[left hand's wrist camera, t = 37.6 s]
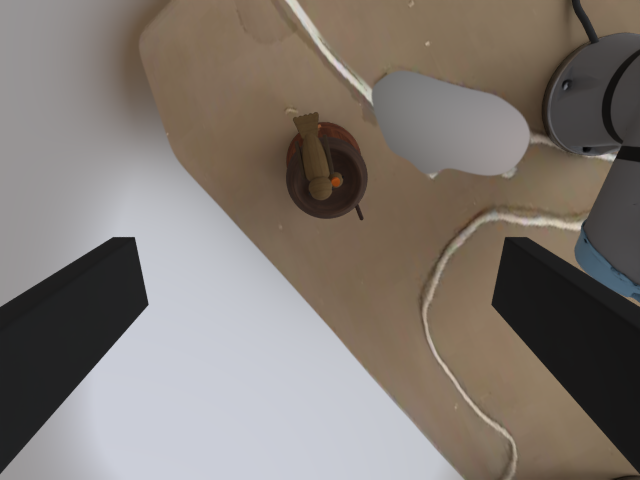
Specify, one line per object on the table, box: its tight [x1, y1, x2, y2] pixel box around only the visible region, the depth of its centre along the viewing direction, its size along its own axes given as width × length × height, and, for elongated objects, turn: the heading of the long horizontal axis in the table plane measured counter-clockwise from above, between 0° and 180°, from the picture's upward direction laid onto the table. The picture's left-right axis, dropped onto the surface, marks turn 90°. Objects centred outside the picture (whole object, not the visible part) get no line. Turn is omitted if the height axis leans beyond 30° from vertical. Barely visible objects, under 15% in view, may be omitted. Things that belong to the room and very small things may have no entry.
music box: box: [286, 112, 367, 220], centre depth 42 cm, size 15×11×20 cm
